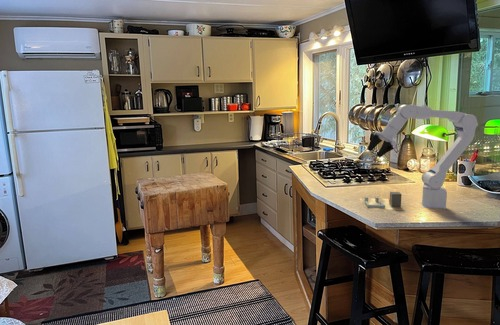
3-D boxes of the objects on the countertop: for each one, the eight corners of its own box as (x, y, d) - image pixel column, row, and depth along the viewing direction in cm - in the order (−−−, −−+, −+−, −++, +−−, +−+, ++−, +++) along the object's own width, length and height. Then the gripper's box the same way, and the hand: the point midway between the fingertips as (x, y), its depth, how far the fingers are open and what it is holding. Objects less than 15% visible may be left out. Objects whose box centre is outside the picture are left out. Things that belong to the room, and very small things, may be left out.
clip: (377, 200, 176) (377, 196, 176) (378, 202, 174) (378, 197, 174) (364, 200, 177) (364, 196, 177) (365, 201, 175) (365, 197, 175)
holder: (381, 203, 171) (381, 201, 171) (385, 208, 165) (385, 205, 164) (364, 203, 172) (364, 201, 172) (367, 207, 166) (367, 205, 165)
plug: (393, 199, 177) (394, 187, 176) (400, 207, 166) (401, 194, 164) (385, 199, 178) (385, 187, 177) (391, 207, 166) (392, 194, 165)
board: (393, 199, 179) (394, 198, 179) (404, 210, 162) (404, 209, 162) (358, 199, 181) (359, 198, 181) (365, 209, 164) (365, 209, 164)
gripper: (377, 119, 168) (359, 143, 171) (396, 129, 155) (376, 155, 158) (387, 126, 171) (369, 150, 174) (407, 137, 158) (387, 162, 161)
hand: (373, 153), depth 166 cm, fingers open, 7 cm apart
